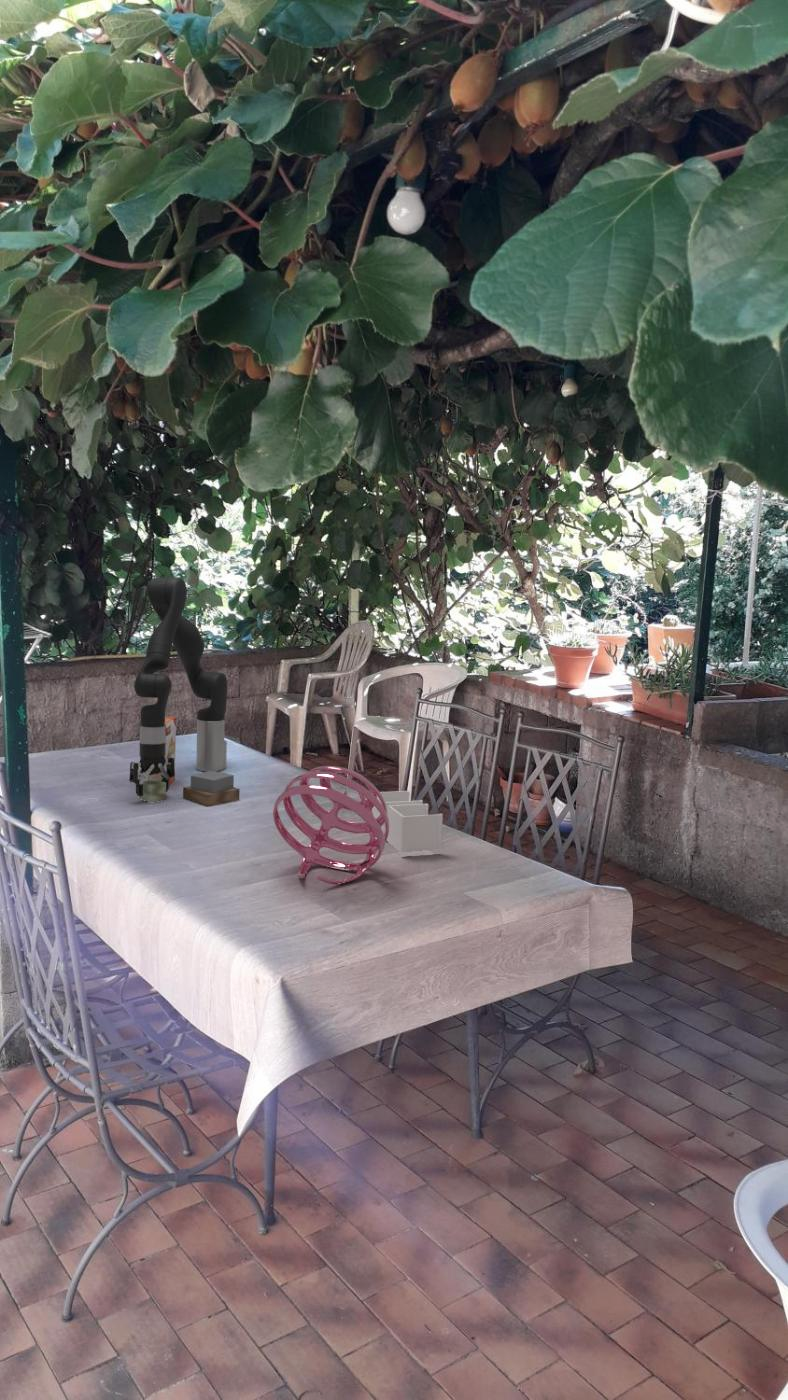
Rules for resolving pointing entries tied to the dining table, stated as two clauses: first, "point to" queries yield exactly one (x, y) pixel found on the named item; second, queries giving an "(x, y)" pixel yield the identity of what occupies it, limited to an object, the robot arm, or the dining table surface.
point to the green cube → (154, 791)
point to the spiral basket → (334, 820)
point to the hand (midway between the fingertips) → (152, 793)
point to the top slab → (212, 782)
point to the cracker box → (168, 746)
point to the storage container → (410, 823)
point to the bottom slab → (210, 796)
